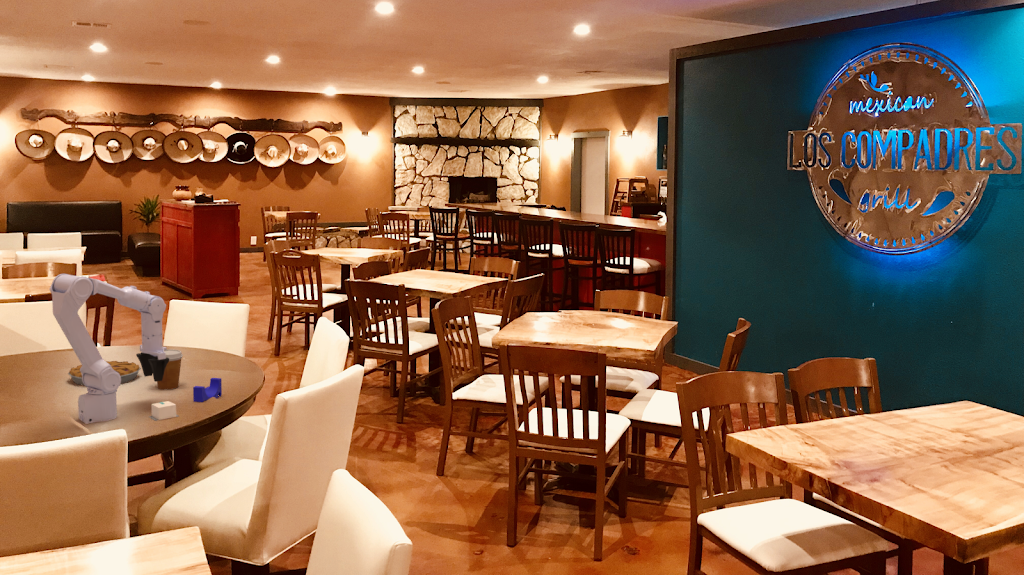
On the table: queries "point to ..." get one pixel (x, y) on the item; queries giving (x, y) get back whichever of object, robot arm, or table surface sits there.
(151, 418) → the base plate
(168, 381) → the disposable coffee cup
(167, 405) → the small white box
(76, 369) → the pie
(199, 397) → the blue u-shaped cradle
